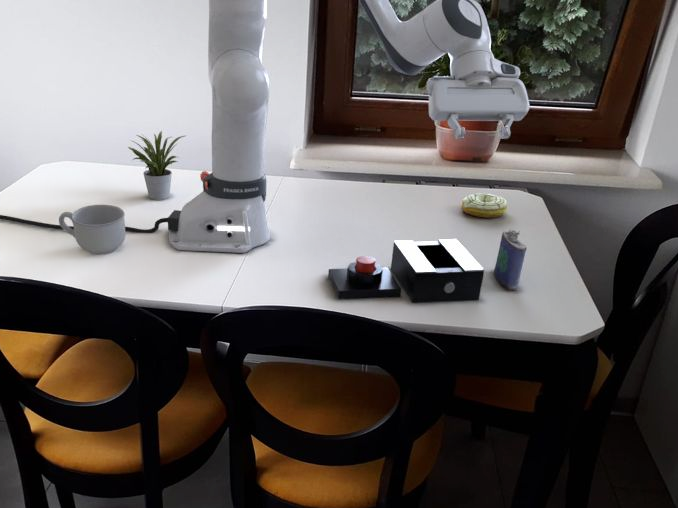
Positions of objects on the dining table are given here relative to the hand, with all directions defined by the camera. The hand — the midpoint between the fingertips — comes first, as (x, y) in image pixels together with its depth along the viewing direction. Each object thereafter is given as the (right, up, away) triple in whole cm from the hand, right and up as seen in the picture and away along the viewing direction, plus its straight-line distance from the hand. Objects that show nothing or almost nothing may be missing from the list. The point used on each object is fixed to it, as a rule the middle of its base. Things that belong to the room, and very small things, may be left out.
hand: (483, 137), depth 141 cm
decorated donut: (+10, -9, +34) cm, 37 cm away
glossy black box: (-11, -30, -3) cm, 32 cm away
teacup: (-80, -21, +9) cm, 83 cm away
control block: (-25, -30, -4) cm, 39 cm away
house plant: (-71, -3, +40) cm, 81 cm away
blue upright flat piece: (+4, -29, -1) cm, 29 cm away
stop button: (-25, -27, -6) cm, 37 cm away
